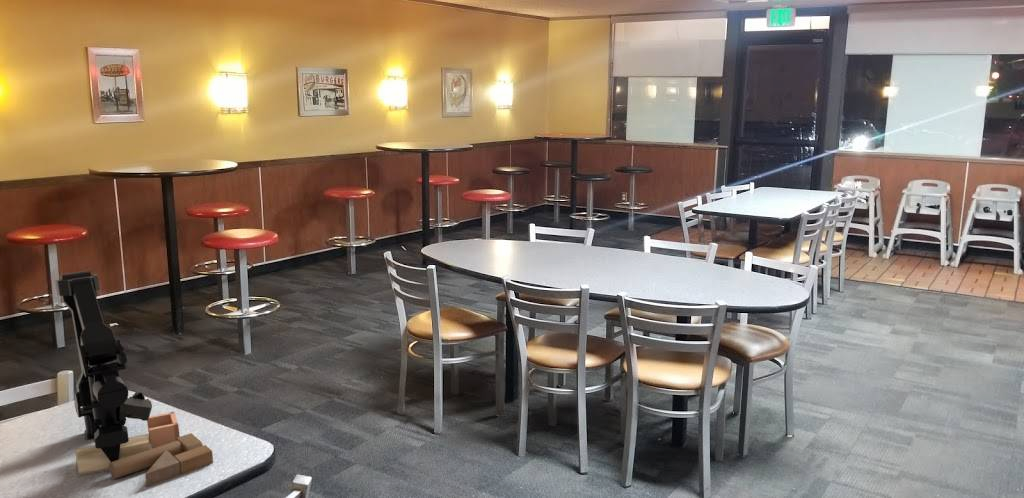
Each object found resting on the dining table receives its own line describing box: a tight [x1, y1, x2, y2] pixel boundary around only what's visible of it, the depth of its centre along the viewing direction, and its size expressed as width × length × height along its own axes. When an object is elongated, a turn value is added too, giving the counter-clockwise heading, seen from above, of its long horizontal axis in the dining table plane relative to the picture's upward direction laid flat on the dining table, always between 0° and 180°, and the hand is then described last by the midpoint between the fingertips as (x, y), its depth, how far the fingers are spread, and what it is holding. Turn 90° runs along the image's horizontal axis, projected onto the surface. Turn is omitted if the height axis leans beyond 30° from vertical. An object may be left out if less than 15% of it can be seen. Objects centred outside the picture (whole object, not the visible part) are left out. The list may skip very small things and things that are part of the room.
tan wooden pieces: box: [108, 432, 214, 488], centre depth 166 cm, size 4×11×18 cm
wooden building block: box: [77, 434, 150, 475], centre depth 170 cm, size 4×14×4 cm, turn 119°
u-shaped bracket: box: [146, 411, 181, 449], centre depth 180 cm, size 8×6×5 cm
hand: (115, 459), depth 170 cm, fingers closed on wooden building block, 4 cm apart
